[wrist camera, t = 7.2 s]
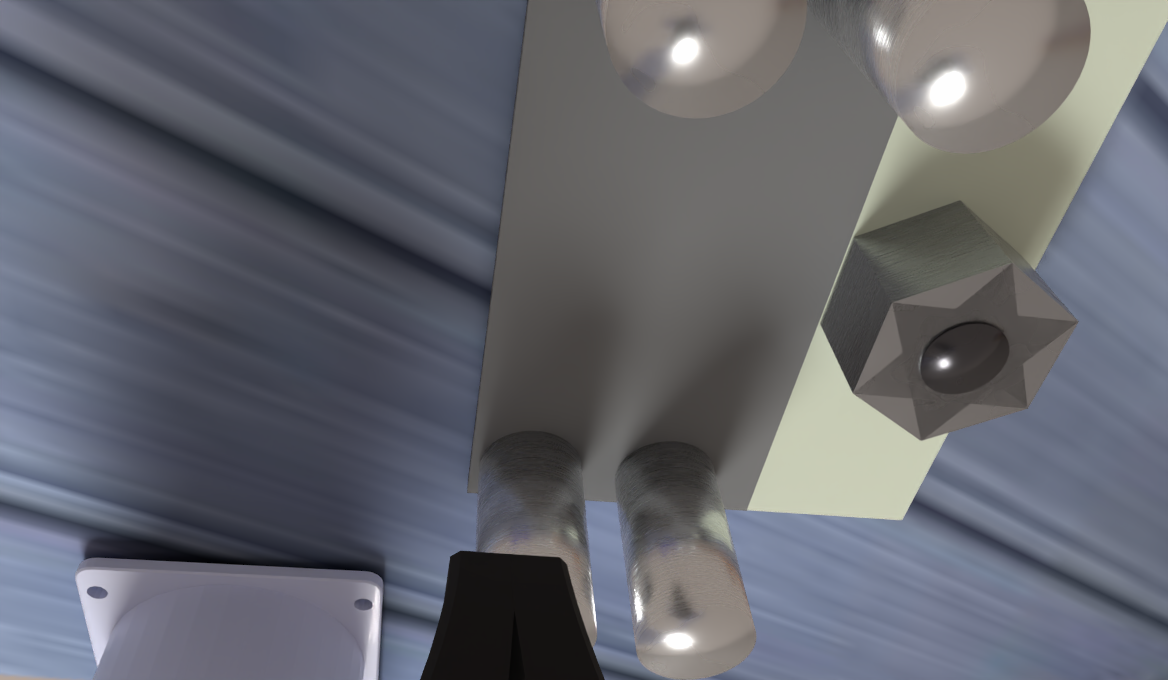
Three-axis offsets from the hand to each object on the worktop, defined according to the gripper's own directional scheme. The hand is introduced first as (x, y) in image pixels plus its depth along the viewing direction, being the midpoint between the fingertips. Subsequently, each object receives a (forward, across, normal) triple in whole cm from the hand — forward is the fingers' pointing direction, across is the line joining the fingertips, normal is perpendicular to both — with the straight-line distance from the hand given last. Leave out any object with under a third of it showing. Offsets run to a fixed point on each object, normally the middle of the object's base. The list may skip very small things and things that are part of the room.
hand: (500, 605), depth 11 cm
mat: (+10, -6, 0) cm, 12 cm away
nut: (+10, -10, 0) cm, 13 cm away
